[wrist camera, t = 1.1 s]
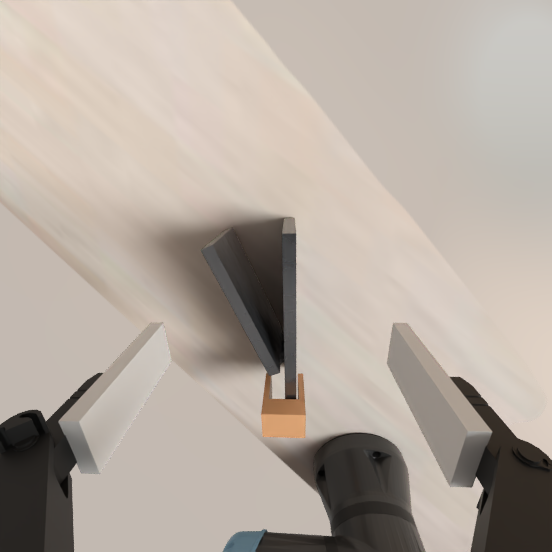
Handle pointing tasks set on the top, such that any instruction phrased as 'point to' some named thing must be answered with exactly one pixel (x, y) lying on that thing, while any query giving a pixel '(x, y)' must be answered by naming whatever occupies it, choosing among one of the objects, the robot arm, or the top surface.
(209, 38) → the top surface
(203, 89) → the top surface
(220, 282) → the tongs hinged arm
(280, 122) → the top surface
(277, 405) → the orange slotted clip
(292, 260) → the arm
